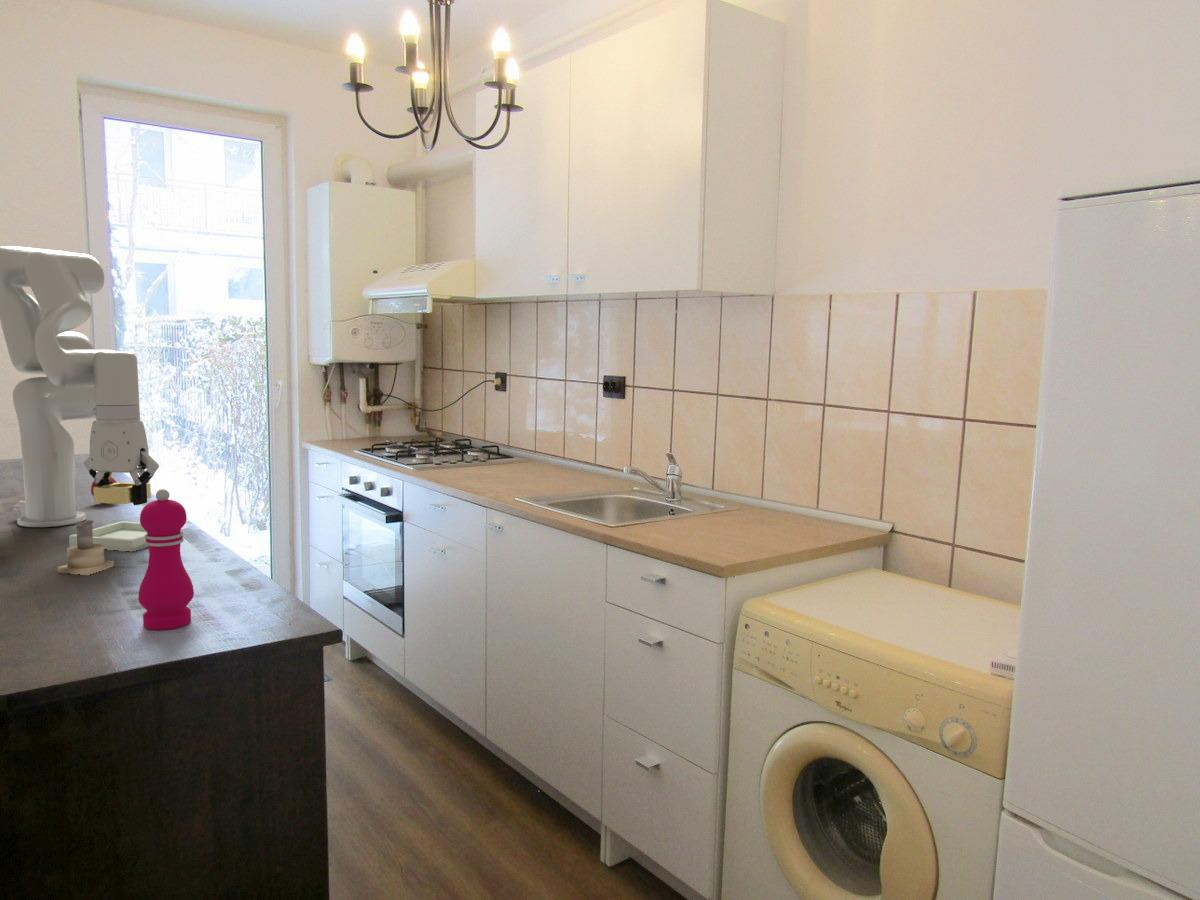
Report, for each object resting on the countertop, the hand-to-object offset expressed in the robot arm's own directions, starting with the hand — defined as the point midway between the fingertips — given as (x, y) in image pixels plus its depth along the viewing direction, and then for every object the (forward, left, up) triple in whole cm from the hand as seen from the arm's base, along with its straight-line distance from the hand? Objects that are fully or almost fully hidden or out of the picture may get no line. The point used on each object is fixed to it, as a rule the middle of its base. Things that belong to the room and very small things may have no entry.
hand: (123, 502), depth 167 cm
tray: (0, +1, -8) cm, 8 cm away
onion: (-31, +31, -8) cm, 45 cm away
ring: (0, 0, 0) cm, 0 cm away
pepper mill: (+40, -39, -8) cm, 56 cm away
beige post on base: (+8, -18, -8) cm, 21 cm away
